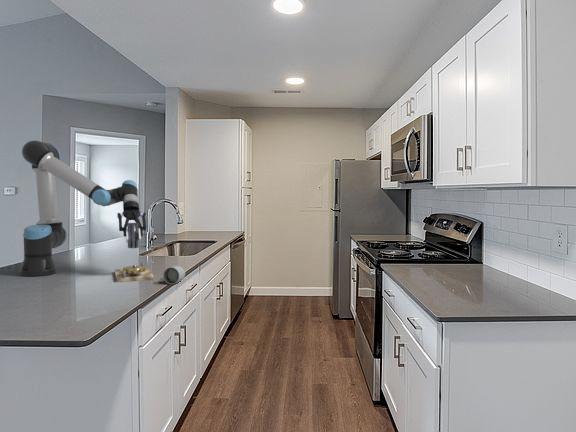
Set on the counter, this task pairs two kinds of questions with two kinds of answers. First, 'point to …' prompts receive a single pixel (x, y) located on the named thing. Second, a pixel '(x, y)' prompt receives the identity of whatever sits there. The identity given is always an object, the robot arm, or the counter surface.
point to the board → (123, 276)
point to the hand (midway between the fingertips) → (133, 240)
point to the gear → (134, 269)
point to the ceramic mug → (173, 275)
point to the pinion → (133, 235)
